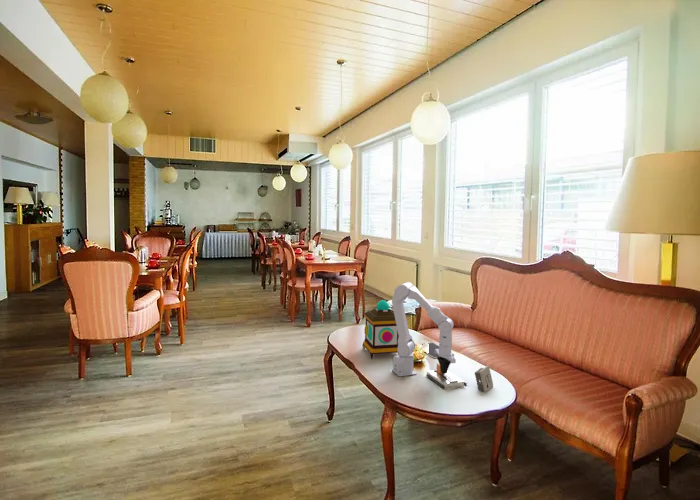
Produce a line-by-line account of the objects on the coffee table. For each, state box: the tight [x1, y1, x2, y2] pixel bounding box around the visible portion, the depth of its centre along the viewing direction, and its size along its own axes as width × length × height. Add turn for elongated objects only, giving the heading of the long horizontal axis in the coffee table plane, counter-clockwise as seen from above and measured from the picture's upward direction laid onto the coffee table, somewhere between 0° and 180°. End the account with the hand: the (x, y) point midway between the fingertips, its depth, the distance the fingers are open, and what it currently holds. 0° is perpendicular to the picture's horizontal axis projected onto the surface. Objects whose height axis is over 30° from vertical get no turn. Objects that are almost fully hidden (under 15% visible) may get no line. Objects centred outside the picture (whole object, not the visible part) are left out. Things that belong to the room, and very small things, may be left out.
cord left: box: [425, 373, 445, 390], centre depth 190 cm, size 14×1×1 cm, turn 20°
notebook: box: [421, 342, 455, 359], centre depth 233 cm, size 13×2×21 cm
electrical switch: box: [474, 365, 494, 393], centre depth 185 cm, size 9×5×9 cm, turn 141°
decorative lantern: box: [362, 299, 399, 360], centre depth 227 cm, size 20×20×30 cm
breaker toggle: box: [435, 362, 443, 374], centre depth 195 cm, size 2×3×4 cm
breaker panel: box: [426, 369, 465, 390], centre depth 191 cm, size 10×16×3 cm, turn 20°
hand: (444, 372), depth 192 cm, fingers closed
